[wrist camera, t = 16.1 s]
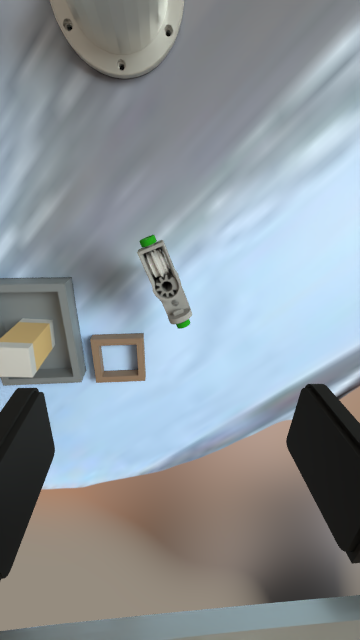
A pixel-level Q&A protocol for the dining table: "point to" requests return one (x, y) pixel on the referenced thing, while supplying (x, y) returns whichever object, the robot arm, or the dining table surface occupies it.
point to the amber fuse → (26, 347)
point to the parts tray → (51, 304)
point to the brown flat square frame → (120, 374)
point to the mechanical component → (165, 280)
